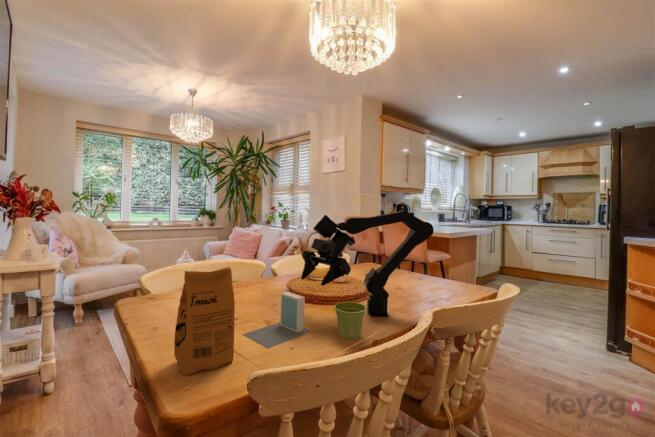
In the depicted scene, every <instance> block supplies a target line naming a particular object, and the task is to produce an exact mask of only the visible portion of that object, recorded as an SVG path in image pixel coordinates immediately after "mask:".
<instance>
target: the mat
mask: <svg viewBox="0 0 655 437" xmlns="http://www.w3.org/2000/svg"><path fill="white" fill-rule="evenodd" d="M310 332H311V333H312V330H310V329H308V328H306V327H304V330H303V331H301V332H298V333H297V332H295V331H293V330H290V329H288V328H286V327H284V326H281V325H280V321H279V322H277V323H273V324H269V325H266V326H264V327H260V328H257V329H255V330H251V331H248V332H245V333H243V334H242V336H244V337H246V339H247V338H248V339H250V340H251V341H252V342H255V343H256V344H258V345H261V346H262V347H264V348H266V349H270V348H273V347H275V346H278V345H281V344H283V343H285V342H288V341H291V340H293V339H296V338H298V337H300V336H303V335H306V334H308V333H310Z"/></svg>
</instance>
